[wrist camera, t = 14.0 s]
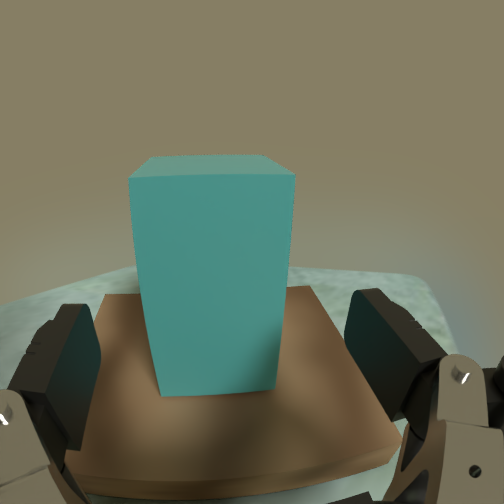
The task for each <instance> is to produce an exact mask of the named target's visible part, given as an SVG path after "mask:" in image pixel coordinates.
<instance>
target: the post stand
mask: <svg viewBox="0 0 504 504" xmlns="http://www.w3.org/2000/svg"><path fill="white" fill-rule="evenodd" d="M94 327H95V330H96V334H97V337H98V340H99V344H100V348H101V365H100V369H99V372H98V376H97V380H96V384H95V388H94V392H93V396H92V400H91V404H90V408H89V413H88V417H87V422H86V426H85V431H84V436H83V441H82V446H81V451H74V450H67V449H66V454H65V459H64V460H65V461H66V462H67V464H68V466H69V467H70V469H71V471H72V473H73V474H74V476H75V478H76V479H77V481H78V483H79V484H80V486H81V487H82V489H83V491H84V492H85V493H89V494H96V495H104V496H113V497H123V498H135V499H154V500H200V499H219V498H232V497H242V496H251V495H259V494H266V493H273V492H279V491H285V490H290V489H296V488H301V487H306V486H310V485H315V484H319V483H323V482H328V481H332V480H335V479H339V478H343V477H347V476H350V475H354V474H357V473H360V472H364V471H367V470H370V469H373V468H376V467H379V466H382V465H385V464H387V463H388V462H389V461H390V459H391V458H392V456H393V455H394V454H395V452H396V451H397V449H398V448H399V446H400V445H401V443H402V440H403V438H402V436H401V435H400V433H399V431H398V429H397V428H396V426H395V424H394V423H393V422H391V421H390V419H389V418H388V416H387V414H386V413H385V411H384V409H383V408H382V406H381V404H380V403H379V401H378V399H377V398H376V396H375V394H374V392H373V391H372V389H371V387H370V386H369V384H368V383H367V381H366V379H365V378H364V376H363V374H362V373H361V371H360V369H359V368H358V366H357V364H356V363H355V361H354V359H353V358H352V356H351V355H350V353H349V351H348V350H347V348H346V345H345V341H344V339H343V338H342V336H341V335H340V333H339V331H338V330H337V328H336V327H335V325H334V323H333V322H332V320H331V319H330V317H329V315H328V314H327V312H326V311H325V309H324V307H323V306H322V304H321V303H320V301H319V300H318V298H317V296H316V295H315V293H314V292H313V290H312V289H311V287H310V286H295V287H286V297H285V307H284V317H283V326H282V336H281V345H280V354H279V362H278V371H277V379H276V387H275V389H272V390H264V391H254V392H244V393H232V394H218V395H200V396H167V397H161V394H160V389H159V385H158V381H157V377H156V372H155V368H154V363H153V358H152V354H151V349H150V344H149V339H148V333H147V328H146V323H145V317H144V311H143V305H142V299H141V294H105V296H104V299H103V301H102V303H101V306H100V308H99V311H98V313H97V316H96V318H95V321H94Z"/></svg>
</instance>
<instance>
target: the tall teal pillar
mask: <svg viewBox="0 0 504 504" xmlns="http://www.w3.org/2000/svg"><path fill="white" fill-rule="evenodd" d="M128 180H129V194H130V208H131V220H132V230H133V239H134V248H135V255H136V256H135V257H136V264H137V272H138V279H139V286H140V293H141V299H142V305H143V311H144V317H145V323H146V328H147V333H148V339H149V344H150V349H151V354H152V358H153V363H154V368H155V372H156V377H157V381H158V385H159V389H160V394H161V397H167V396H200V395H218V394H232V393H244V392H254V391H264V390H272V389H275V387H276V379H277V371H278V362H279V354H280V345H281V336H282V326H283V317H284V307H285V297H286V287H287V276H288V264H289V253H290V242H291V230H292V217H293V204H294V189H295V174H293V173H292V172H290V171H289V170H287V169H285V168H284V167H282V166H280V165H279V164H277V163H275V162H274V161H272V160H271V159H269V158H267V157H265V156H264V155H189V156H164V157H151V158H150V159H149V160H148V161H146V162H145V163H144V164H143V165H142V166H141V167H140V168H139V169H138V170H136V171H135V172H134V173H133V174H132V175H131V176H130V177H129V178H128Z"/></svg>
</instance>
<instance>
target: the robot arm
mask: <svg viewBox="0 0 504 504" xmlns="http://www.w3.org/2000/svg"><path fill="white" fill-rule="evenodd" d="M344 341H345V345H346V348H347V350H348V351H349V353H350V355H351V356H352V358H353V359H354V361H355V363H356V364H357V366H358V368H359V369H360V371H361V373H362V374H363V376H364V378H365V379H366V381H367V383H368V384H369V386H370V387H371V389H372V391H373V392H374V394H375V396H376V398H377V399H378V401H379V403H380V404H381V406H382V408H383V409H384V411H385V413H386V414H387V416H388V418H389V419H390V421H391V422H394V421H397V420H400V419H403V418H406V419H407V421H408V424H407V425H406V427H405V430H404V435H403V440H402V444H401V449H400V453H399V458H398V462H397V466H396V470H395V474H394V477H393V480H392V482H391V484H390V486H389V488H388V490H387V492H386V493H385V495H384V498H383V500H382V501H373V500H372V498H371V496H370V494H369V491H368V492H365V493H362V494H359V495H355V496H352V497H349V498H346V499H342V500H339V501H335V502H331V503H328V504H504V356H503V357H502V359H501V361H500V363H499V364H498V366H497V368H484V369H481V367H480V366H479V365H478V364H477V363H476V362H475V361H474V360H472V359H471V358H469V357H466V356H463V355H459V354H451V355H448V354H447V353H446V352H445V351H444V350H443V349H442V348H441V346H440V345H439V344H438V343H437V342H436V341H435V340H434V339H433V338H432V337H431V336H430V334H429V333H428V332H427V331H426V330H425V329H422V326H421V325H420V324H419V323H418V322H417V321H415V318H414V317H413V316H412V315H411V314H410V313H409V312H408V311H407V310H406V309H405V308H403V307H401V306H399V305H398V304H396V303H394V302H393V301H392V302H391V301H390V299H389V298H388V297H387V296H386V295H385V294H384V293H383V292H382V291H381V290H380V289H378V288H372V289H363V290H356V291H354V293H353V295H352V298H351V303H350V307H349V312H348V316H347V321H346V325H345V330H344ZM100 365H101V348H100V344H99V340H98V337H97V334H96V330H95V327H94V323H93V319H92V316H91V312H90V309H89V307H88V305H87V304H63V305H62V306H61V307H60V309H59V311H58V312H57V314H56V316H55V318H54V320H48V321H47V322H46V323H45V324H44V325H43V326H42V327H40V328H39V329H38V330H37V332H36V333H35V335H34V337H33V339H32V341H31V344H29V346H28V348H27V350H26V354H24V356H23V357H22V359H21V361H20V363H19V365H18V367H17V369H16V371H15V373H14V375H13V377H12V379H11V381H10V384H9V386H8V388H7V390H0V504H92V503H91V501H90V500H89V498H88V497H87V495H86V494H85V492H84V491H83V489H82V487H81V486H80V484H79V483H78V481H77V479H76V478H75V476H74V474H73V473H72V471H71V469H70V467H69V466H68V464H67V462H66V461H65V460H64V459H65V454H66V449H67V450H74V451H81V446H82V441H83V436H84V431H85V426H86V422H87V417H88V413H89V408H90V404H91V400H92V396H93V392H94V388H95V384H96V380H97V376H98V372H99V369H100Z"/></svg>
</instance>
